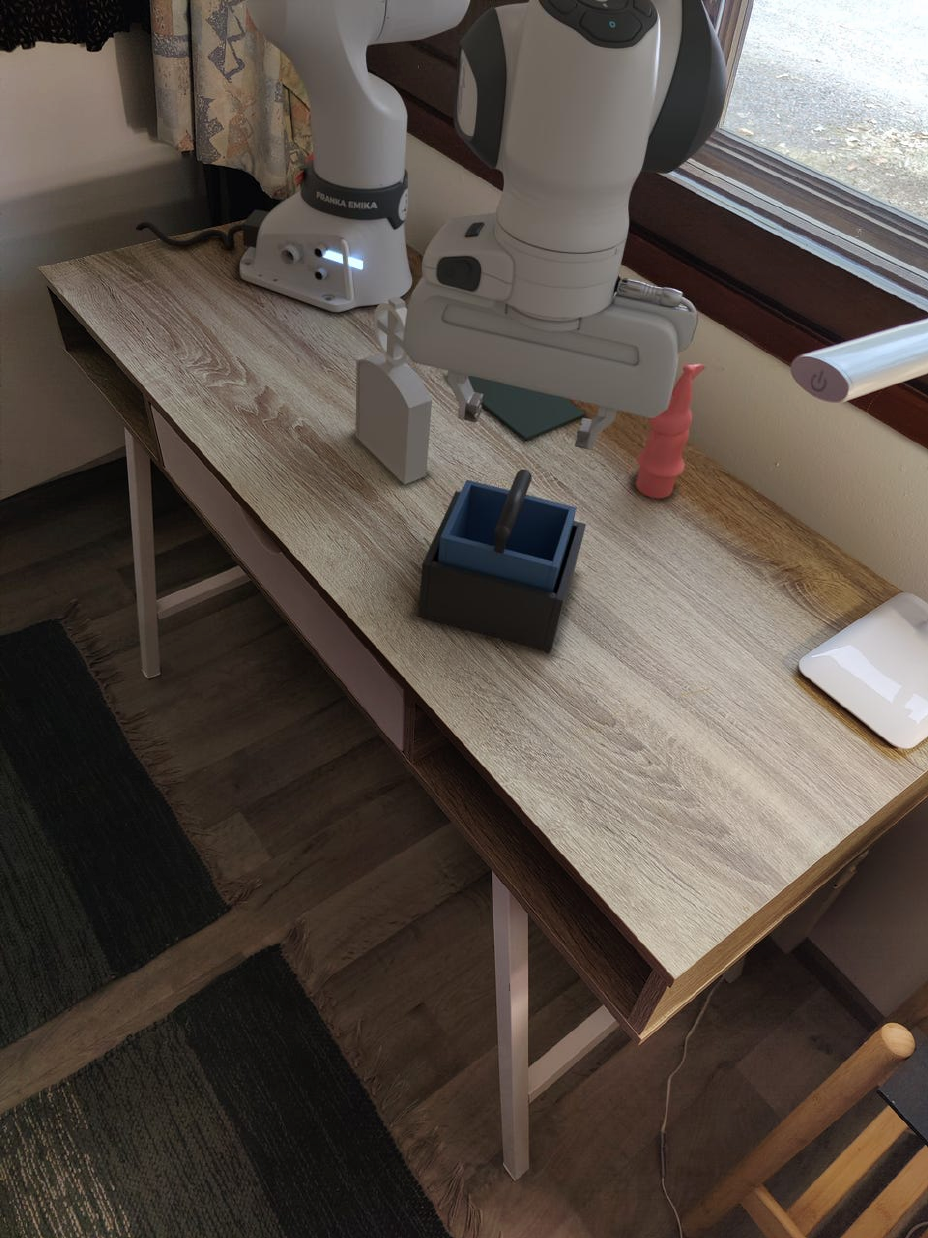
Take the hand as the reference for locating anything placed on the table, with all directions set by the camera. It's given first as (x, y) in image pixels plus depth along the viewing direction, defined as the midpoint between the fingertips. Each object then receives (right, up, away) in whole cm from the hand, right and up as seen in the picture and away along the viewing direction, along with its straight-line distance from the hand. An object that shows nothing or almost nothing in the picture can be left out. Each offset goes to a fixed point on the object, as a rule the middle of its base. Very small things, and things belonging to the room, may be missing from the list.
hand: (526, 430), depth 75 cm
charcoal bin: (-2, -13, +14) cm, 19 cm away
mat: (+1, +11, +36) cm, 38 cm away
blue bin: (-2, -12, +13) cm, 18 cm away
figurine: (+15, -1, +27) cm, 31 cm away
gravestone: (-13, +2, +27) cm, 30 cm away
